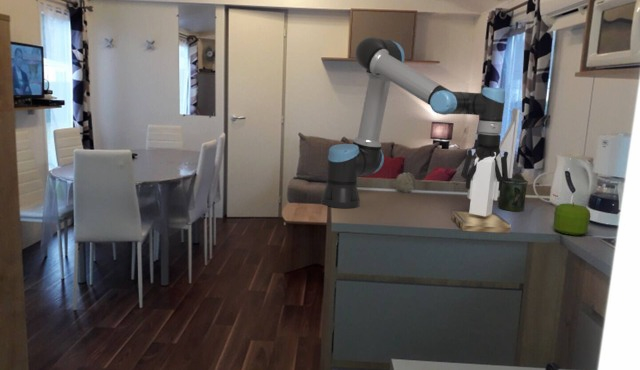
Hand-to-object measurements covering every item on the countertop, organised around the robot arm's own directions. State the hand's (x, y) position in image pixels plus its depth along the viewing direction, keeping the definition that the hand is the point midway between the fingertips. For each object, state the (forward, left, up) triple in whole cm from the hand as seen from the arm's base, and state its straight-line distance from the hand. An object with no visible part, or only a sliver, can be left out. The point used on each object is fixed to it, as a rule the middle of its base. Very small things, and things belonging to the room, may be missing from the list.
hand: (481, 198), depth 184 cm
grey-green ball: (-18, +58, -10) cm, 61 cm away
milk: (0, 0, -5) cm, 5 cm away
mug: (+22, +30, -10) cm, 38 cm away
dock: (0, 0, -10) cm, 10 cm away
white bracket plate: (+24, +63, -10) cm, 68 cm away
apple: (+30, -4, -10) cm, 32 cm away
